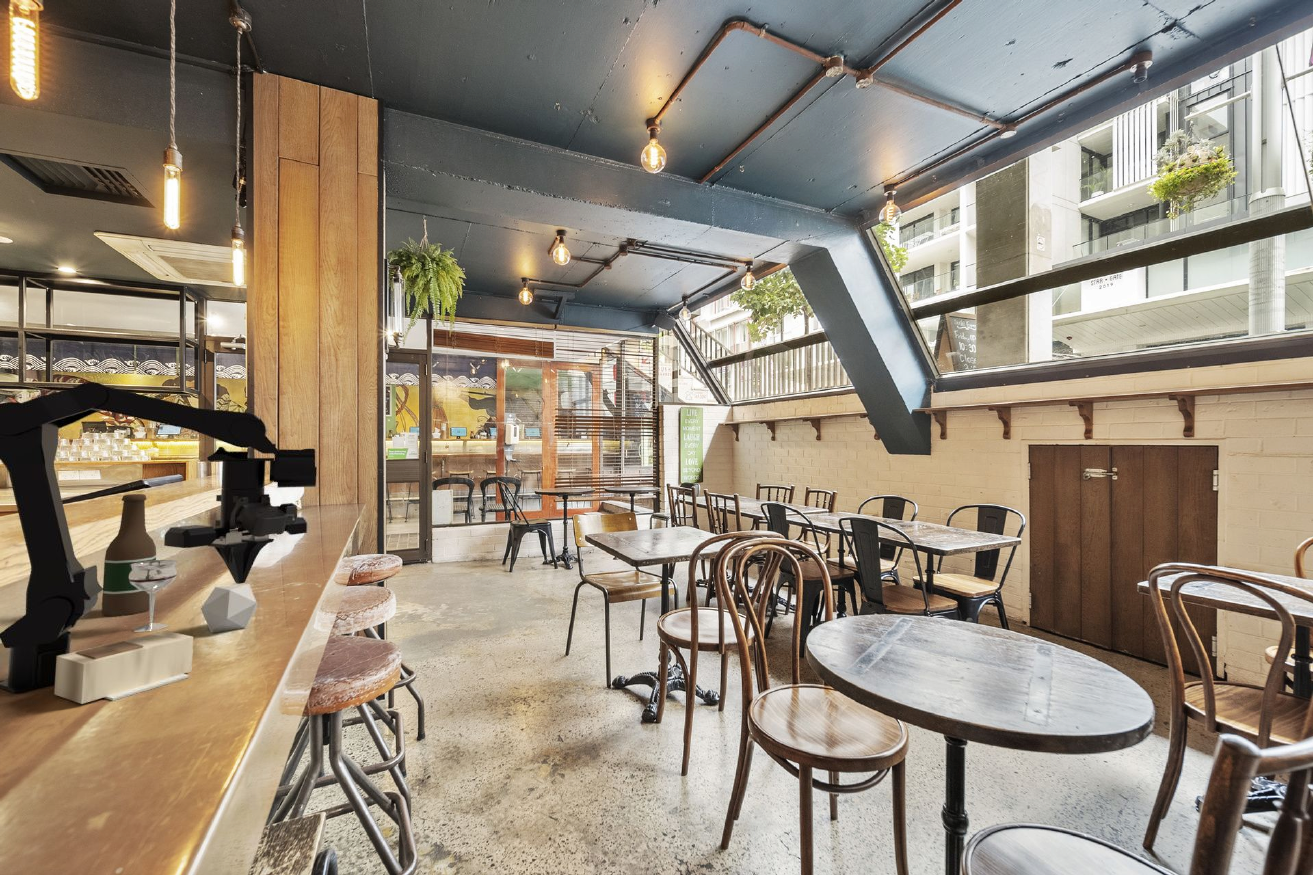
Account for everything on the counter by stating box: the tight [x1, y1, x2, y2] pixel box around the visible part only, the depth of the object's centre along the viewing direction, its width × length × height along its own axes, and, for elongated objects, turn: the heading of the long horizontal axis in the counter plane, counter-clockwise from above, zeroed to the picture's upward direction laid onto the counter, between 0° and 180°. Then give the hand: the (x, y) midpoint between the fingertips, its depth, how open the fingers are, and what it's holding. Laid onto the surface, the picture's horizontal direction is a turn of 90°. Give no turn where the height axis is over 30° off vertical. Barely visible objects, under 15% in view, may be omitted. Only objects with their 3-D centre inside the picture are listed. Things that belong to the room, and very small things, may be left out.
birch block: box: [54, 630, 194, 705], centre depth 76 cm, size 7×5×12 cm
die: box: [200, 583, 259, 633], centre depth 102 cm, size 8×9×10 cm
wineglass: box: [129, 559, 178, 633], centre depth 102 cm, size 7×7×12 cm
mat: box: [103, 673, 190, 702], centre depth 77 cm, size 10×8×1 cm
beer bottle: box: [101, 493, 157, 617], centre depth 112 cm, size 8×8×24 cm
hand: (240, 583), depth 90 cm, fingers closed
